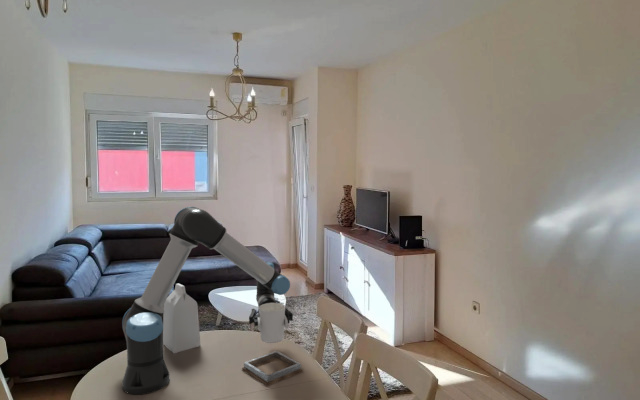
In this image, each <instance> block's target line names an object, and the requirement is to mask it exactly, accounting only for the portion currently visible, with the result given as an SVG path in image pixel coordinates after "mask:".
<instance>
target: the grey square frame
mask: <svg viewBox="0 0 640 400" xmlns="http://www.w3.org/2000/svg"><path fill="white" fill-rule="evenodd" d="M275 357H277V358H278V359H280V360H282V361H284V362H286V363H287V364H289V365H291V366H290V367H287V368H285V369H282V370H280V371H277V372H275V373H272V374H270V375H267V374H265V373H264V372H262V371H261V370H259V369H257V368H256V367H254V365H256V364H259V363H262V362H265V361H267V360H270V359H273V358H275ZM243 367H244V368H245V369H247V370H249V371H250V372H252V373H253V374H255V375H256V376H258V377H259V378H261V379H262V380H264V381H266V382H267V383H268V382H270V381H273V380H275V379H278V378H280V377H282V376H285V375H287V374H290V373H292V372H295V371H297V370H299V369H301V368H302V364H301V363H300V362H298V361H296V360H295V359H292V358H291V357H289V356H287V355H286V354H284V353H282V352H280V351H278V350H276V351H275V350H274V351H273V352H269V353H265V354H263V355H260V356H257V357H255V358H252V359H250V360H246V361H244V362H243Z"/></svg>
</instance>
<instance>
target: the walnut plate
mask: <svg viewBox="0 0 640 400" xmlns="http://www.w3.org/2000/svg"><path fill="white" fill-rule="evenodd" d="M290 366H291V365H289V364H287V363H286V362H284V361H282V360H280V359H278V358H277V357H275V358H273V359H270V360H267V361H265V362H262V363H259V364H256V365H254V367H256V368H257V369H259V370H261V371H262V372H264V373H265V374H267V375H270V374H272V373H275V372H277V371H280V370H282V369H285V368H287V367H290ZM241 370H242V371H243V373H246V374H247V375H249V376H250V377H252V378H253V379H255V380H256V381H257V382H260V383H261V384H263V385H264V386H265V387H270V386H272V385H274V384H276V383H279V382H281V381H283V380H287V379H288V378H291V377H293V376H295V375H298V374H301V373H303V372H304V371H303V370H304V369H303V368H302V367H301V369H299V370H297V371H295V372H292V373H290V374H287V375H285V376H282V377H280V378H278V379H275V380H273V381H270V382H268V383H267V382H266V381H264V380H262V379H261V378H259V377H258V376H256V375H255V374H253V373H252V372H250V371H249V370H247V369H245V368H244V366H242V368H241Z"/></svg>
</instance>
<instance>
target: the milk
mask: <svg viewBox="0 0 640 400" xmlns="http://www.w3.org/2000/svg"><path fill="white" fill-rule="evenodd" d="M163 308H164V311H165V312H164V314H163V316H162V322H163V346H164V345H165V346H164V347H166V348H167V349H168V350H169V351H170V352H172V353H173V354H177V353H179V352H180V353H181V352H185V351H187V350H191V349H193V348H197V347H200V346H201V333H200V322H199V321H200V320H199V308H198V302H197V300H195V299H194V298H193V297H191V296H190V295H189V294H188V293H187V292H186V286H185V285H183V284H181V283H175V287H174V290H173V291H171V293H169V295H168V297H167V299H166V301H165V303H164V305H163Z"/></svg>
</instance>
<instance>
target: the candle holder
mask: <svg viewBox="0 0 640 400" xmlns="http://www.w3.org/2000/svg"><path fill="white" fill-rule="evenodd" d="M285 307H286V305H285V304H284V303H279V302H276V303H266V304H263V305H260V306H259V308H258V309H259V319H260V323H261V331H259V332H260V340H261V341H262V342H263V343H265V344H276V343H277V344H278V343H280V342H283V340H284V337H285V325H284V322H285Z"/></svg>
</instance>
